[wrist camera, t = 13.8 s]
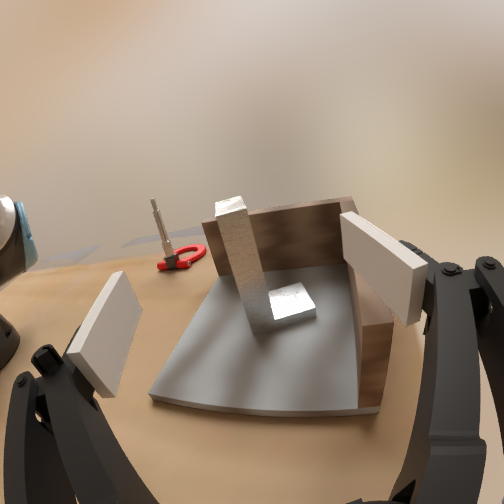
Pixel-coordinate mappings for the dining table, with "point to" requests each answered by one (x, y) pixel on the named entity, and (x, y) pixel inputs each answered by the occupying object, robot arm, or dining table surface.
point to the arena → (285, 328)
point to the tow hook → (171, 256)
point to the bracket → (258, 275)
